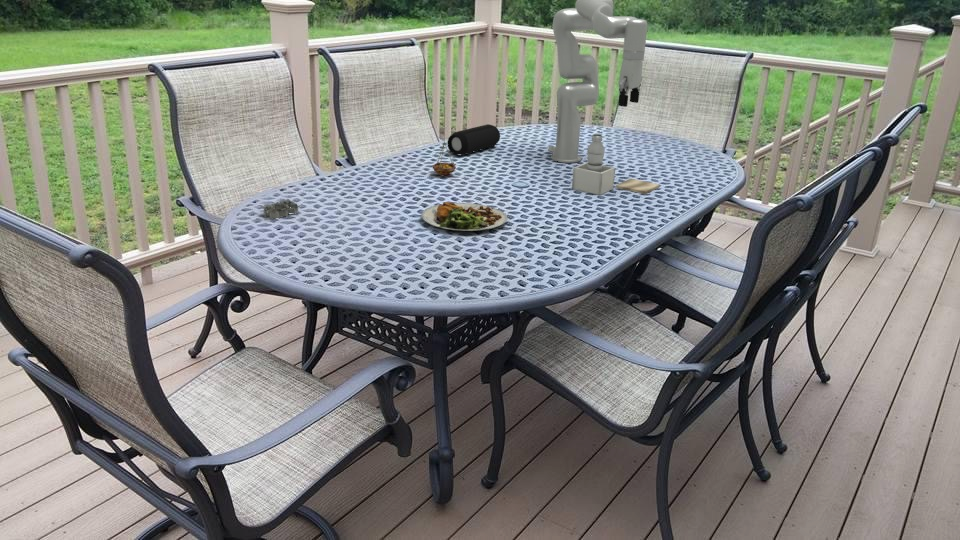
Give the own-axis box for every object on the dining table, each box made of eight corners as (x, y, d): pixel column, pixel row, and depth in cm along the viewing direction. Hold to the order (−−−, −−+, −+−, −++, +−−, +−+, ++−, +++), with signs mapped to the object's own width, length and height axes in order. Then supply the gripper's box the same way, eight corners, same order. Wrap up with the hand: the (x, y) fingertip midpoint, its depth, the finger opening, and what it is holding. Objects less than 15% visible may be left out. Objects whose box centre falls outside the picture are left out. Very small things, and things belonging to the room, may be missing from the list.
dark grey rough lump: (272, 221, 252) (271, 209, 250) (260, 215, 257) (259, 203, 255) (301, 214, 258) (301, 202, 257) (289, 208, 263) (288, 196, 262)
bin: (571, 188, 294) (573, 167, 290) (585, 182, 302) (587, 162, 298) (599, 195, 287) (601, 173, 284) (613, 188, 295) (615, 167, 292)
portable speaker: (483, 144, 353) (484, 121, 349) (501, 148, 347) (502, 125, 344) (445, 154, 335) (445, 130, 331) (463, 158, 329) (464, 134, 325)
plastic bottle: (600, 186, 297) (605, 133, 290) (601, 191, 291) (606, 138, 283) (583, 185, 298) (588, 132, 290) (584, 190, 292) (588, 137, 284)
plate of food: (465, 242, 239) (466, 223, 237) (403, 219, 256) (403, 201, 254) (524, 224, 258) (526, 207, 256) (463, 204, 275) (463, 187, 273)
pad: (615, 187, 296) (616, 185, 296) (630, 180, 305) (630, 178, 305) (645, 194, 290) (645, 191, 290) (659, 187, 299) (659, 184, 299)
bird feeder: (428, 176, 303) (429, 97, 291) (438, 170, 310) (439, 93, 299) (449, 179, 300) (451, 99, 288) (459, 173, 307) (460, 95, 296)
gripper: (633, 52, 289) (628, 99, 296) (613, 56, 276) (608, 106, 283) (652, 54, 286) (647, 102, 292) (633, 59, 272) (628, 109, 279)
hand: (628, 104), depth 288 cm, fingers open, 9 cm apart
